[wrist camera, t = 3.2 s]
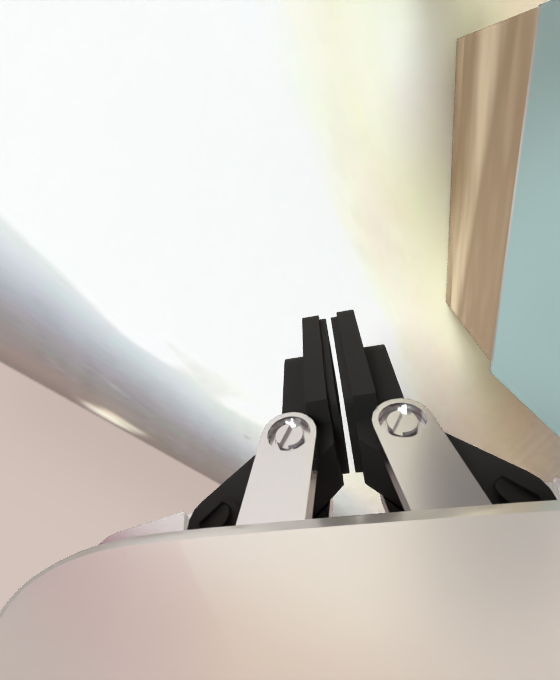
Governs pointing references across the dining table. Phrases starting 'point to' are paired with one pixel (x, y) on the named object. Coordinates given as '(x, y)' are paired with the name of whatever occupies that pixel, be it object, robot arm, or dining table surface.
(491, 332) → the chest
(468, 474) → the robot arm
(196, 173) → the dining table surface
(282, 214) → the dining table surface
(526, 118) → the lid
